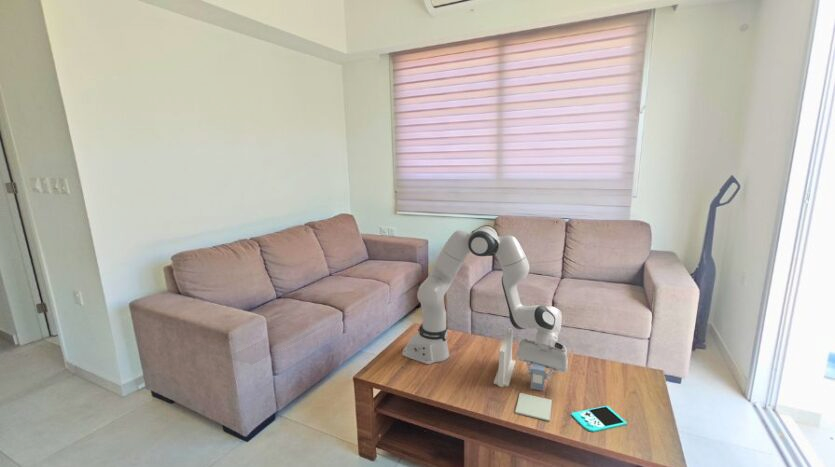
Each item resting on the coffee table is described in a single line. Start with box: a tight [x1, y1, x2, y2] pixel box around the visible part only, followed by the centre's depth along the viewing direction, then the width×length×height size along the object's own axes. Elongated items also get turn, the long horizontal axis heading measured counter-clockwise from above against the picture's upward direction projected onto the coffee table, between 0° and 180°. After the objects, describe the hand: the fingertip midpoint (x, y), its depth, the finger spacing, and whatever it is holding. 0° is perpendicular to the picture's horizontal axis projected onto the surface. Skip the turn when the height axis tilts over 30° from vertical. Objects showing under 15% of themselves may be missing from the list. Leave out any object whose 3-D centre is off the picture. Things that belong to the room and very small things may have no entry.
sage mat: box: [515, 392, 553, 422], centre depth 141 cm, size 12×12×1 cm
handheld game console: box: [571, 405, 628, 433], centre depth 135 cm, size 10×16×1 cm, turn 105°
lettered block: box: [530, 362, 546, 392], centre depth 153 cm, size 5×5×9 cm
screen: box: [493, 327, 516, 388], centre depth 162 cm, size 6×22×16 cm, turn 157°
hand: (537, 376), depth 153 cm, fingers closed on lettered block, 5 cm apart
